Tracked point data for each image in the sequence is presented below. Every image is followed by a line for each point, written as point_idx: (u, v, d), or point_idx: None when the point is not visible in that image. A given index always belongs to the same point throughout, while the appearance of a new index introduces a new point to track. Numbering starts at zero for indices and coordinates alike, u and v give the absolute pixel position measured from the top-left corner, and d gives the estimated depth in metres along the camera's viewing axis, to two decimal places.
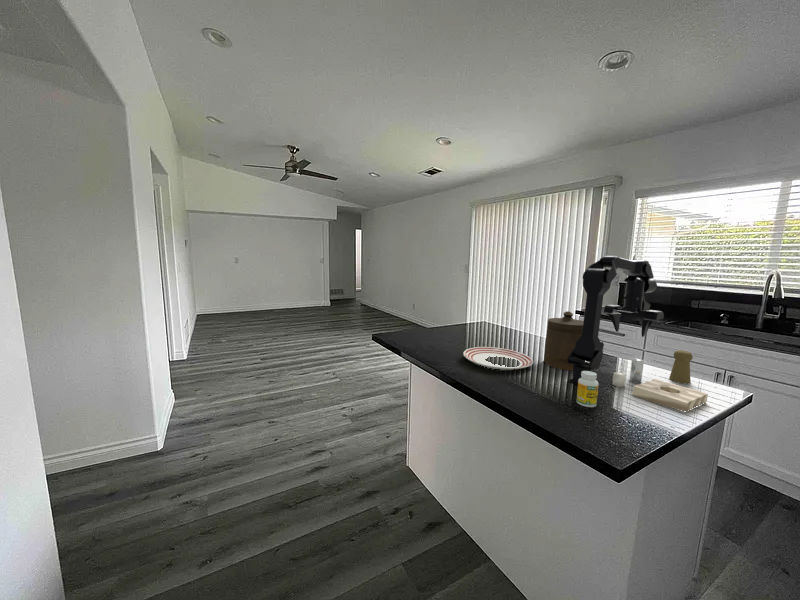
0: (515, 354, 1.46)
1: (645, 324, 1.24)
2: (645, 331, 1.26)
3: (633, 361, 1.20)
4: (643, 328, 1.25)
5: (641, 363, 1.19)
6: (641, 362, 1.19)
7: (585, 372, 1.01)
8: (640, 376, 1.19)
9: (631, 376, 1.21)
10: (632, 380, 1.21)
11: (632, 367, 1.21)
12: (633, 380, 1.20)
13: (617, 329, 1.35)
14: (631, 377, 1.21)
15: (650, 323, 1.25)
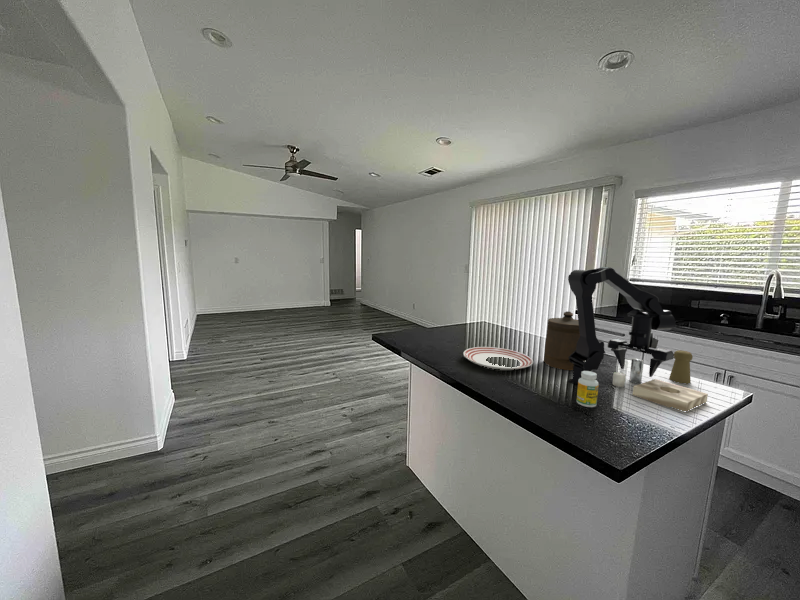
0: (515, 354, 1.46)
1: (653, 364, 1.14)
2: (653, 371, 1.16)
3: (633, 361, 1.20)
4: (651, 368, 1.15)
5: (641, 363, 1.19)
6: (641, 362, 1.19)
7: (585, 372, 1.01)
8: (640, 376, 1.19)
9: (631, 376, 1.21)
10: (632, 380, 1.21)
11: (632, 367, 1.21)
12: (633, 380, 1.20)
13: (622, 366, 1.25)
14: (631, 377, 1.21)
15: (659, 363, 1.15)
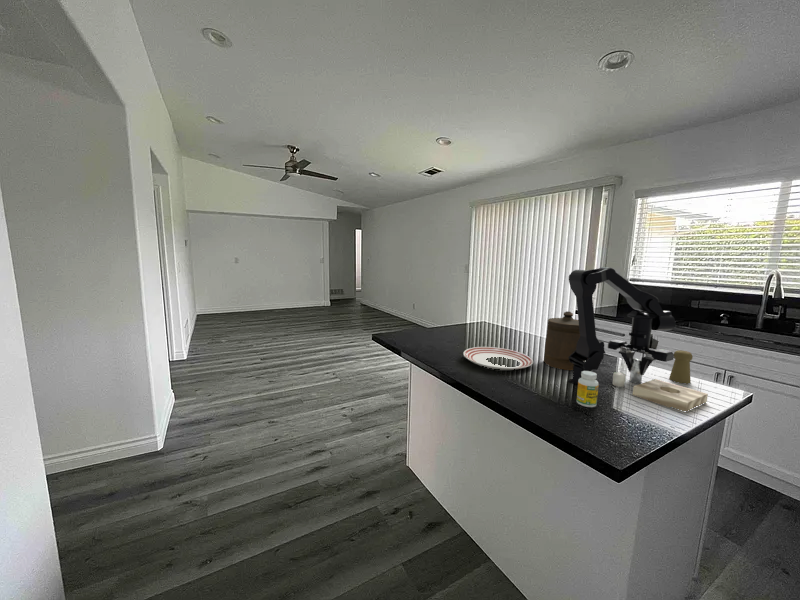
0: (515, 354, 1.46)
1: (644, 363, 1.16)
2: (644, 370, 1.18)
3: (633, 361, 1.20)
4: (642, 367, 1.18)
5: None
6: None
7: (585, 372, 1.01)
8: (640, 376, 1.19)
9: (631, 376, 1.21)
10: (632, 380, 1.21)
11: (632, 367, 1.21)
12: (633, 380, 1.20)
13: (630, 369, 1.22)
14: (631, 377, 1.21)
15: (650, 361, 1.18)
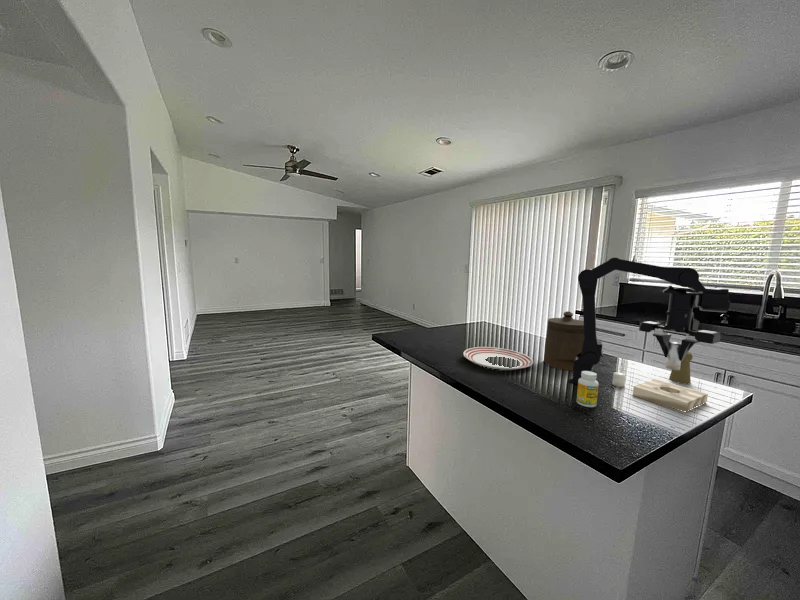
0: (515, 354, 1.46)
1: (685, 346, 1.00)
2: (684, 354, 1.02)
3: (671, 345, 1.04)
4: (682, 351, 1.02)
5: (680, 347, 1.03)
6: (680, 345, 1.03)
7: (585, 372, 1.01)
8: (679, 362, 1.04)
9: (668, 362, 1.05)
10: (669, 366, 1.05)
11: (669, 351, 1.05)
12: (671, 366, 1.04)
13: (666, 354, 1.06)
14: (668, 363, 1.05)
15: (691, 344, 1.02)
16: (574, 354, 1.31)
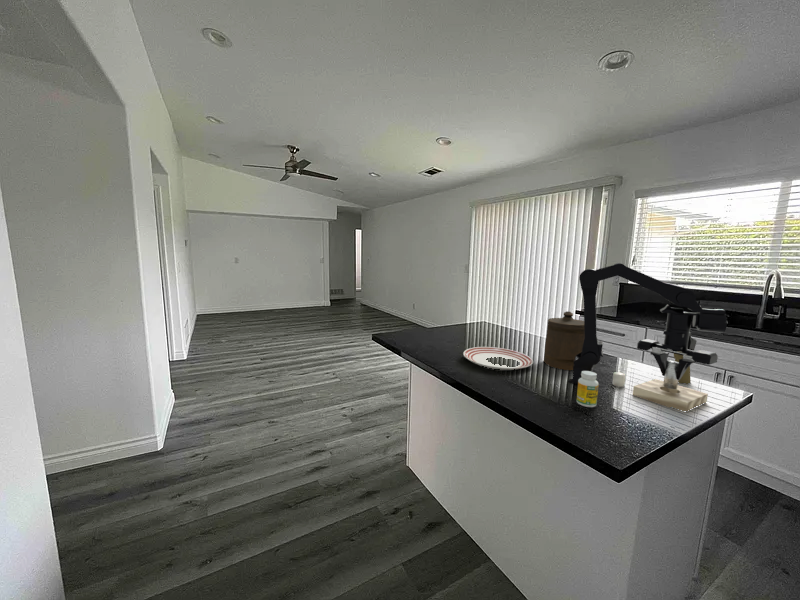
0: (515, 354, 1.46)
1: (682, 366, 1.01)
2: (682, 373, 1.03)
3: (668, 363, 1.05)
4: (679, 370, 1.02)
5: None
6: None
7: (585, 372, 1.01)
8: (676, 381, 1.04)
9: (666, 381, 1.06)
10: (667, 385, 1.06)
11: (667, 370, 1.05)
12: (669, 385, 1.05)
13: (664, 373, 1.07)
14: (666, 382, 1.06)
15: (688, 364, 1.03)
16: (574, 354, 1.31)
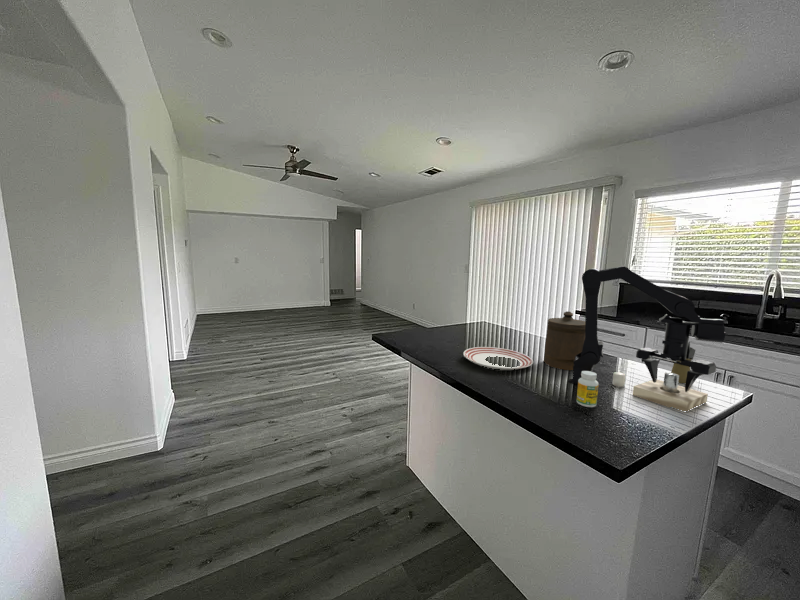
0: (515, 354, 1.46)
1: (691, 378, 1.00)
2: (690, 385, 1.01)
3: (667, 376, 1.06)
4: (688, 382, 1.01)
5: (676, 378, 1.04)
6: (676, 377, 1.04)
7: (585, 372, 1.01)
8: None
9: None
10: None
11: (665, 383, 1.06)
12: None
13: (655, 379, 1.10)
14: None
15: (696, 376, 1.01)
16: (574, 354, 1.31)
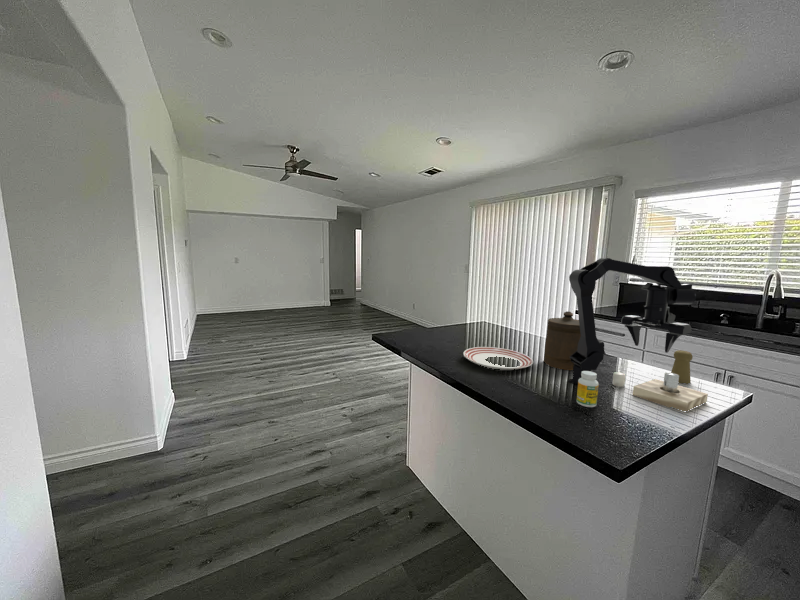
0: (515, 354, 1.46)
1: (669, 339, 1.09)
2: (669, 346, 1.11)
3: (667, 376, 1.06)
4: (667, 343, 1.10)
5: (676, 378, 1.04)
6: (676, 377, 1.04)
7: (585, 372, 1.01)
8: None
9: None
10: None
11: (665, 383, 1.06)
12: None
13: (637, 343, 1.20)
14: None
15: (675, 337, 1.11)
16: None
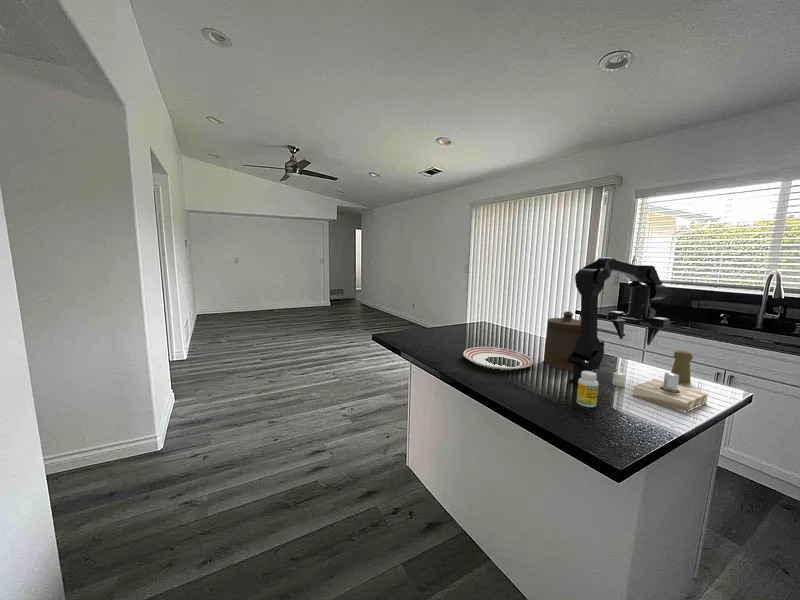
0: (515, 354, 1.46)
1: (651, 332, 1.19)
2: (651, 339, 1.20)
3: (667, 376, 1.06)
4: (649, 336, 1.20)
5: (676, 378, 1.04)
6: (676, 377, 1.04)
7: (585, 372, 1.01)
8: None
9: None
10: None
11: (665, 383, 1.06)
12: None
13: (621, 336, 1.29)
14: None
15: (656, 331, 1.20)
16: None
